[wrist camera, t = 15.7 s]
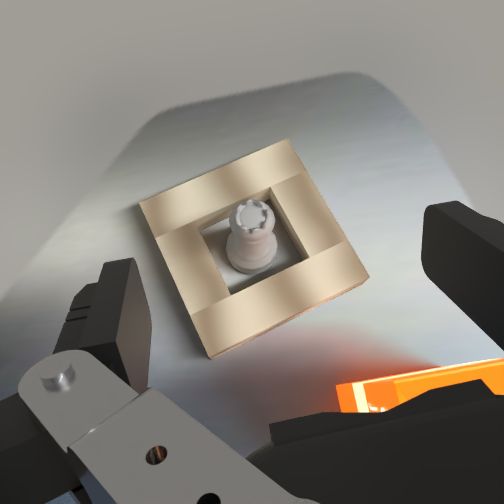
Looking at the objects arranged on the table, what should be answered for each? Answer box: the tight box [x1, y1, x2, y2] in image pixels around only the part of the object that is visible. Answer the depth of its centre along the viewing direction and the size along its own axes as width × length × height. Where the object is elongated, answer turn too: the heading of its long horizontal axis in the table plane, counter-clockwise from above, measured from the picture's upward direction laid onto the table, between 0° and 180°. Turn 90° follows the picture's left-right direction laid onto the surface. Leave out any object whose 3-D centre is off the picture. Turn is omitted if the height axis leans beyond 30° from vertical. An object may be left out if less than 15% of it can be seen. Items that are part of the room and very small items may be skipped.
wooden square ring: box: [139, 138, 370, 359], centre depth 37 cm, size 14×14×2 cm
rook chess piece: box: [226, 198, 278, 274], centre depth 34 cm, size 4×4×8 cm
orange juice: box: [336, 358, 504, 412], centre depth 24 cm, size 8×9×20 cm
